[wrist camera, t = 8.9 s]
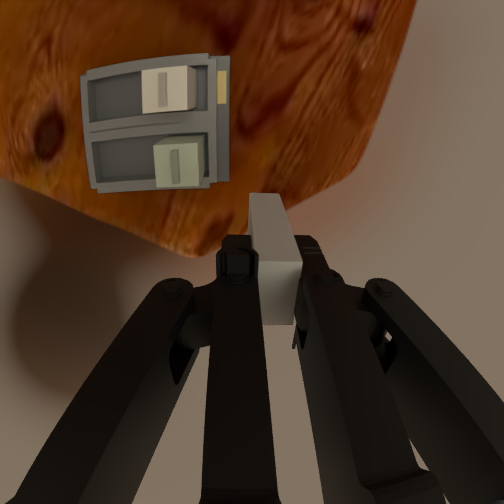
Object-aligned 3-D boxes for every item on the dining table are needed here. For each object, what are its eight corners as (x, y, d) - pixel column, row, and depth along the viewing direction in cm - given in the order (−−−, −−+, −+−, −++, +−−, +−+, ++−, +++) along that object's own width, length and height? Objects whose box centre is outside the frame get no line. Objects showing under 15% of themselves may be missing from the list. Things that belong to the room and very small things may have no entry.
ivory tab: (159, 73, 26) (138, 70, 20) (197, 70, 26) (185, 64, 20) (159, 109, 28) (139, 114, 22) (197, 106, 28) (185, 110, 22)
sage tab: (168, 135, 29) (150, 147, 24) (205, 133, 30) (196, 144, 24) (170, 170, 31) (154, 190, 26) (206, 169, 32) (198, 188, 26)
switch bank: (84, 74, 26) (71, 74, 23) (230, 56, 26) (228, 52, 24) (94, 186, 33) (83, 194, 30) (229, 179, 34) (228, 187, 31)
